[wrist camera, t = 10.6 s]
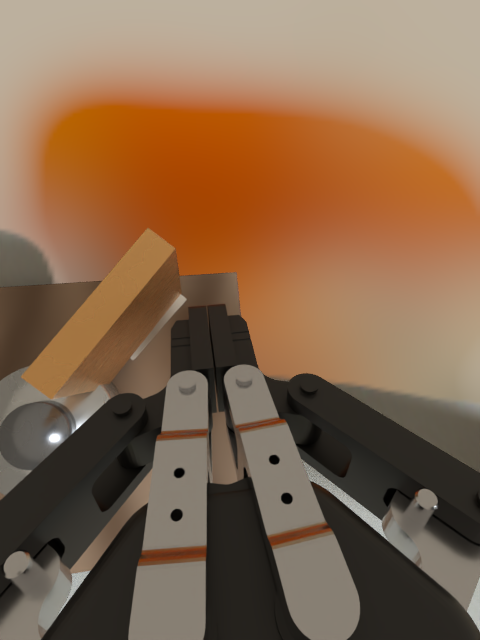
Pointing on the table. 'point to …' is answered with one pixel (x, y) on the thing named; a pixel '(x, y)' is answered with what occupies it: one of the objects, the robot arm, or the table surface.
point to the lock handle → (84, 358)
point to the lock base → (135, 376)
